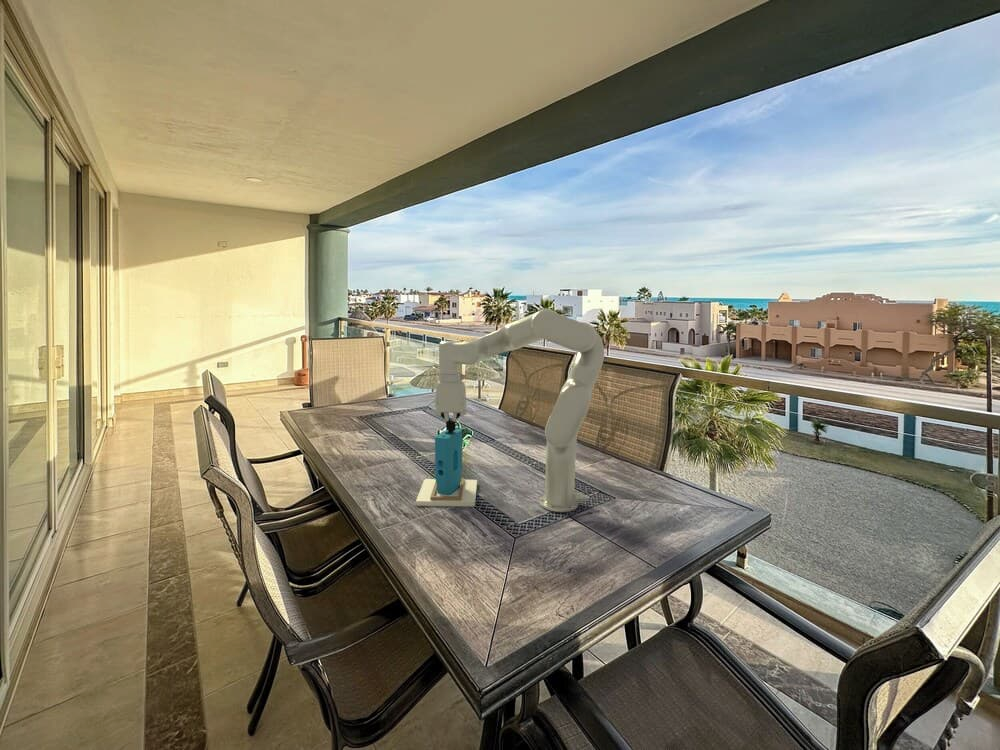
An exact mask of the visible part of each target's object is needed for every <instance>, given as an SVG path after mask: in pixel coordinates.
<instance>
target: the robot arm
mask: <svg viewBox="0 0 1000 750" xmlns="http://www.w3.org/2000/svg"><path fill="white" fill-rule="evenodd" d="M542 340H546V341H548V342H551V343H553V344H556V345H558V346H561V347H563V348H566V349H568V350H571V351H573V352H576V354H575V356H576V357H575V359H574V362H573V363H572V364H573V365H572V367H571V370H570V372H569V374H568V376H567V379H566V380H565V383H564V384H563V386H562V388H561V389H560V392H559V394H558V397H557V399H556V401H555V405H554V406H553V409H552V411H551V413H550V415H549V417H548V418H547V422H546V425H545V428H544V436H545V438H546V439H545V440H546V450H545V452H546V453H545V479H544V495H542V496H540V498H539V504H540V506H541V508H543V509H545V510H548V511H550V512H554V513H555V512H556V513H569V512H572V511H575V510H576V509H577V508H579V501H581V502H588V501H589V498H590V497H589V495H588V494H584V492H576V491H575V479H576V478H575V476H576V459H577V457H576V456H577V438H578V433H579V432H580V429H581V427H582V426H583V422H584V420H585V418H586V416H587V414H588V412H589V408H590V406H591V400H592V393H593V389H594V388H595V385H596V383H597V380H598V378H599V376H600V373H601V371H602V367H603V365H604V364H603V363H604V360H605V346H604V342H603V340H602V337H601V336H600V334H599V333H598V331H597V330H596V329H595V328H594V326H593V325H591V324H590V323H588V322H585V321H582V322H581V321H578V320H575V319H574V318H569V317H568V316H564V315H562V314H561V313H557V312H556V311H555V310H553V309H550V308H544V309H541V310H538V311H537V312H533V313H532V314H530V315H527V316H524V317H522V318H520V319H517V320H515V321H512V322H510V323H508V324H506V325H504V326H502V327H501V328H500V329H497V330H496V331H493V332H491V333H488V334H487V335H483V336H481V337H479V338H476V339H473V340H469V341H464V342H463V341H462V342H461V341H458V340H443V341H440V342H439V344H438V377H439V378H438V381H437V383H436V387H435V388H436V389H435V395H434V396H435V399H434V400H435V401H434V402H435V403H434V407H435V409H434V415H435V416H438V417H441V418H442V419H443V420H444V421H445V429H446V430H448V433H450V432H451V433H453V431H454V430H455V429H456V421H457V420H458V419H459V418H460V417H464V416H466V415H467V414H468V413H467V395H466V394H467V391H466V385H465V381H463V380H467V374H464V373H463V365H466V366H467V365H468V366H473V365H477V364H479V363H480V362H483V361H485V360H487V359H489V358H490V359H491V358H492V357H494V356H497V355H499V354H502V353H506V352H509V351H516V350H518V349H521V348H523V347H525V346H529V345H531V344H534V343H537V342H539V341H542ZM451 413H452V418H451V417H450V414H451ZM446 430H445V431H446Z"/></svg>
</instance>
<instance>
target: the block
mask: <svg viewBox="0 0 1000 750" xmlns="http://www.w3.org/2000/svg"><path fill="white" fill-rule="evenodd" d="M462 472H463V429H461V428H455V430H454V431H453V433H451V432H450V433H448V430H444V431H442V432H440V433H438V434H436V435H435V436H434V474H435V476H434V477H435V479H436V484H437V490H438V494H444V495H452V494H453V493H454V492H455V491H456V490H457V489H458V488H460V483H461V478H462V474H463V473H462Z"/></svg>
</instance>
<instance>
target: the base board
mask: <svg viewBox="0 0 1000 750" xmlns="http://www.w3.org/2000/svg"><path fill="white" fill-rule="evenodd" d="M477 487H478V479H466V478H465V477H461V483H460V488H458V489H457V490H456V491H455V492H454V493H453V494H452V495H444V494H438V490H437V484H436V478H435V479H434V478H424V480H423V482H422V485H421V487H420V490H419V492H418V495H417V497H416V500H415V506H418V507H419V506H420V507H421V506H424V507H425V506H426V507H427V506H429V507H430V506H431V507H433V506H434V507H475V506H476V497H477V489H478V488H477Z"/></svg>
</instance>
